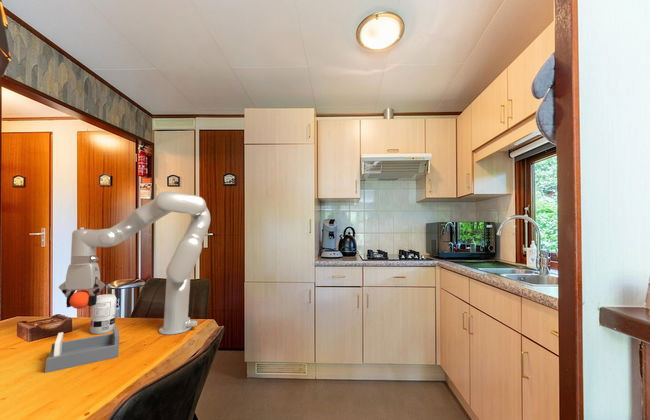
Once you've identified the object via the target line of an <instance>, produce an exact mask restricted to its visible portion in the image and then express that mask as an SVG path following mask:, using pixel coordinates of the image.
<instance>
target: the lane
mask: <svg viewBox="0 0 650 420" xmlns="http://www.w3.org/2000/svg"><path fill="white" fill-rule="evenodd" d="M54 348H55V342H54V343H52V344H51V349H50V352H49V354H48V357H46V360H45V361H46V362H45V370H44V373H45V374H46V373H51V372H55V371H61V370H65V369H70V368H74V367H79V366H83V365H88V364H92V363H98V362H102V361H107V360H111V359H117V358H119V353H120V351H119V350H120V332H119V326H118V325H115V327H113V330H112V332H111V333H105V334H99V335H95V336H90V337H88V336H87V337H82V338H79V339H73V340H65V341H63V342H62V352H61V355H60V356H54Z"/></svg>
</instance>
